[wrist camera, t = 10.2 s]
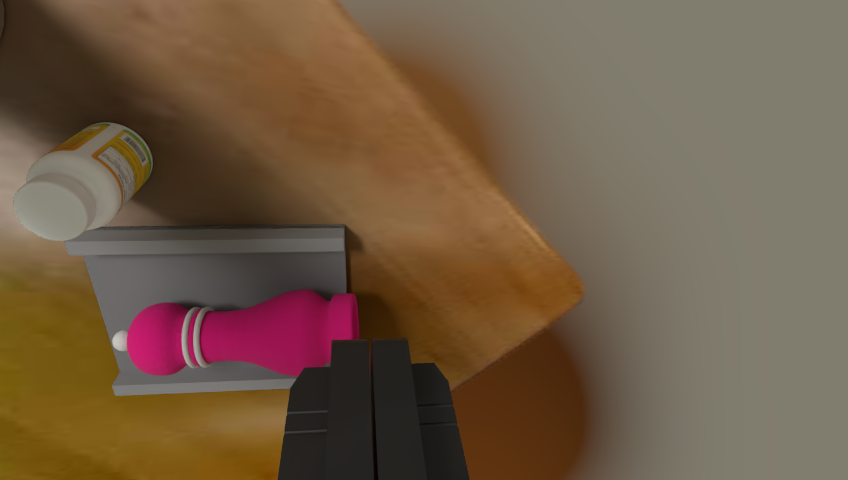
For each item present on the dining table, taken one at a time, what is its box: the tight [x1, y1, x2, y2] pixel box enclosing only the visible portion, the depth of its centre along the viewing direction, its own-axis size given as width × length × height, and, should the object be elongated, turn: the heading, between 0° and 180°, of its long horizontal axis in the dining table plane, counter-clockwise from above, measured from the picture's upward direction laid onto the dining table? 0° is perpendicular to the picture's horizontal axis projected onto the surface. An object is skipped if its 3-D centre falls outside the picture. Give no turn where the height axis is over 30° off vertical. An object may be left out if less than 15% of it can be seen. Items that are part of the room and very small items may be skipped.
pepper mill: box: [112, 289, 359, 377], centre depth 44 cm, size 7×7×20 cm
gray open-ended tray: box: [64, 225, 347, 396], centre depth 46 cm, size 21×16×2 cm
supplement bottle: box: [13, 122, 153, 241], centre depth 35 cm, size 5×5×10 cm
